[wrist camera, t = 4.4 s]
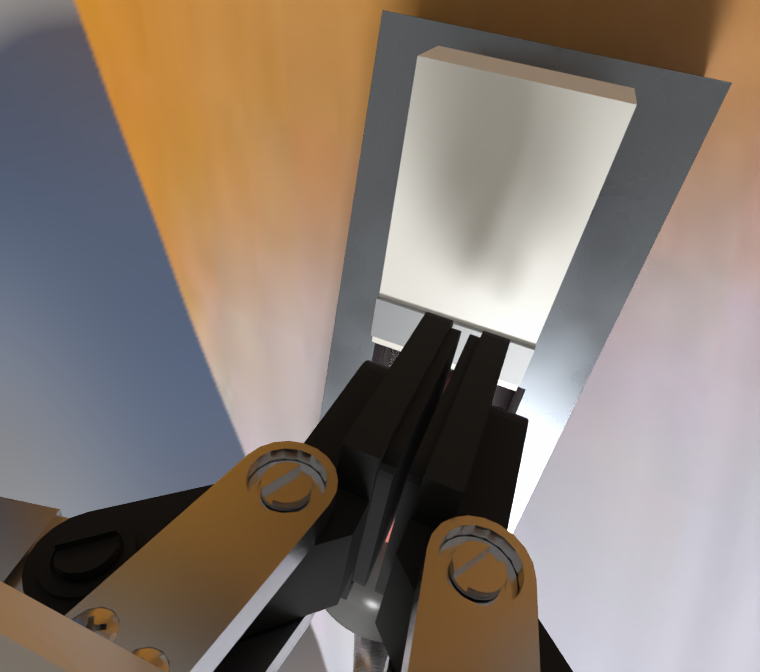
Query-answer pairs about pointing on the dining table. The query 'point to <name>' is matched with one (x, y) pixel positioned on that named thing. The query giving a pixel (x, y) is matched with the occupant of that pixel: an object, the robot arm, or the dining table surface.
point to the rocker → (493, 197)
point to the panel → (596, 246)
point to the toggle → (368, 655)
